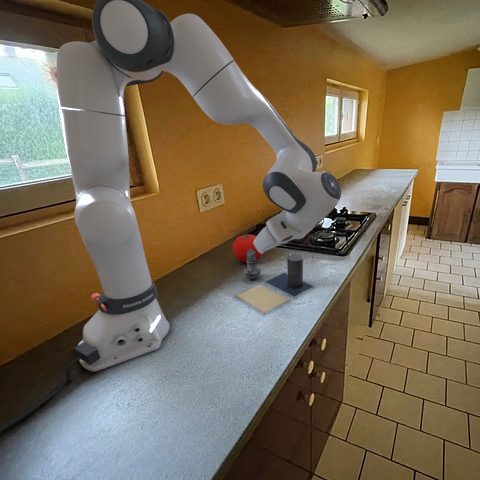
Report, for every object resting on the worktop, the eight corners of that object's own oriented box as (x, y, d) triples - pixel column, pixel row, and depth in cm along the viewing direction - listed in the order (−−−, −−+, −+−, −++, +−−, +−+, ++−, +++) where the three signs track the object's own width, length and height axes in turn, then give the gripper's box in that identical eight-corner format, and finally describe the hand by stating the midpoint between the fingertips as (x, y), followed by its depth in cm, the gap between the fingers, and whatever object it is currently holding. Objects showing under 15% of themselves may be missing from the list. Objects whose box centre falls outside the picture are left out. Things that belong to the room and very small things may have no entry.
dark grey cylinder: (295, 290, 98) (295, 262, 93) (284, 284, 101) (284, 257, 97) (305, 284, 101) (306, 257, 96) (295, 279, 104) (295, 253, 99)
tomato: (254, 252, 128) (253, 228, 123) (269, 261, 119) (267, 236, 115) (229, 259, 123) (226, 234, 118) (242, 269, 114) (239, 243, 109)
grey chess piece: (259, 284, 103) (256, 251, 98) (242, 282, 104) (239, 251, 99) (263, 276, 108) (261, 245, 103) (247, 275, 110) (244, 244, 104)
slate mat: (294, 297, 95) (294, 296, 94) (265, 282, 104) (265, 281, 104) (313, 287, 100) (313, 286, 100) (284, 274, 109) (284, 272, 109)
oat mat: (264, 314, 87) (264, 312, 87) (236, 296, 97) (235, 295, 96) (288, 300, 93) (288, 299, 93) (259, 285, 103) (259, 284, 102)
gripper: (313, 204, 89) (289, 229, 99) (263, 221, 76) (242, 247, 87) (325, 221, 88) (300, 245, 99) (276, 242, 75) (253, 266, 86)
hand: (272, 246), depth 93 cm, fingers open, 8 cm apart
